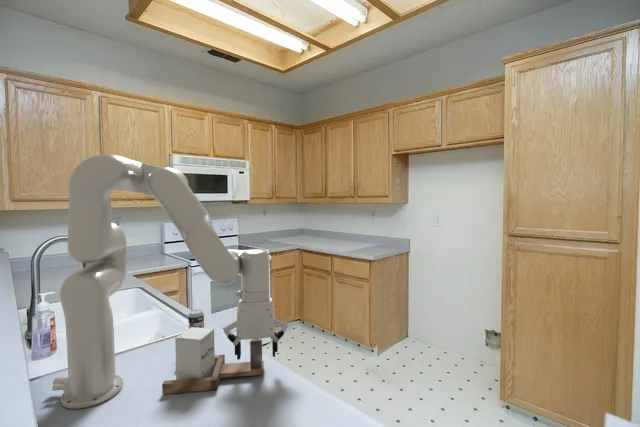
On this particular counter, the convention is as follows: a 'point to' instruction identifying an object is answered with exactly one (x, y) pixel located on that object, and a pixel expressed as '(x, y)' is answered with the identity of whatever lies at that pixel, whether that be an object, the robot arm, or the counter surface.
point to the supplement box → (195, 353)
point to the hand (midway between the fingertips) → (256, 355)
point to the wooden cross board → (220, 372)
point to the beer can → (196, 319)
